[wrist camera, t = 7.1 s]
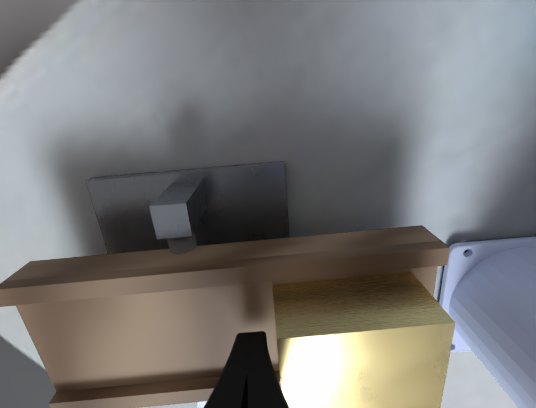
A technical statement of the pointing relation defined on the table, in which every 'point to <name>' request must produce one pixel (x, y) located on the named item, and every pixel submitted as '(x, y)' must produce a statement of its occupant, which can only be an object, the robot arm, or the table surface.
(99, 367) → the beam
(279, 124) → the table surface
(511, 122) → the table surface
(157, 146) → the table surface
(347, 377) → the rider
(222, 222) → the beam stand
